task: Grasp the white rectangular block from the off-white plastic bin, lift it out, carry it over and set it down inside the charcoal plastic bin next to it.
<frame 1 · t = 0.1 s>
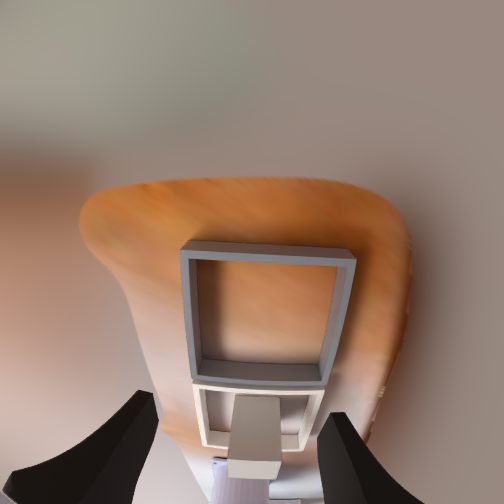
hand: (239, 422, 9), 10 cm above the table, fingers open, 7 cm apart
string lights box: (262, 502, 34), on the table
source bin: (256, 409, 23), on the table
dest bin: (264, 314, 19), on the table
white rectangular block: (256, 409, 23), resting in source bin
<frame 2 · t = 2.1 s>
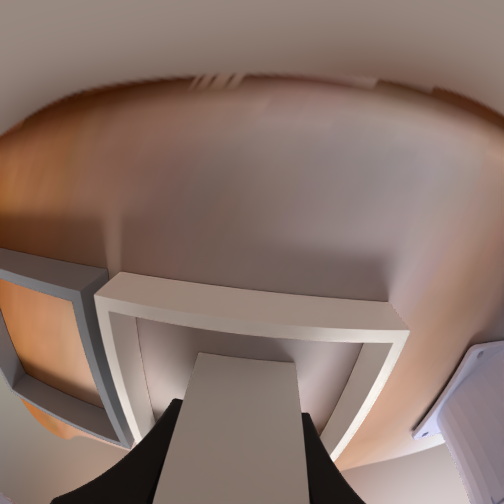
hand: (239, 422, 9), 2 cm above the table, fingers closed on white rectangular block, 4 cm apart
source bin: (242, 390, 11), on the table
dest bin: (48, 341, 11), on the table
white rectangular block: (242, 390, 11), resting in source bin, touching gripper
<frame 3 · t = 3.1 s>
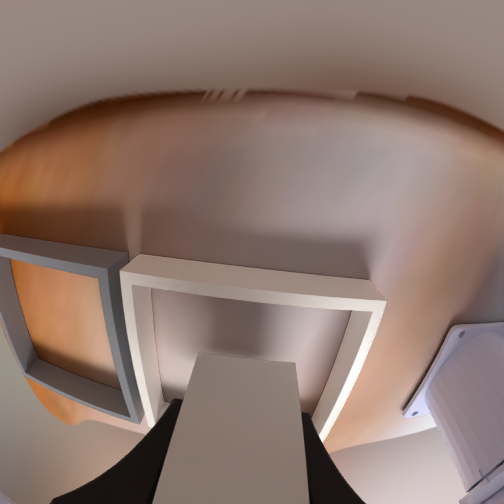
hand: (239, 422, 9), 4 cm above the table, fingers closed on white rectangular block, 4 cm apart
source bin: (244, 361, 13), on the table
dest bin: (65, 323, 13), on the table
white rectangular block: (242, 389, 11), point 2 cm above the table, touching gripper
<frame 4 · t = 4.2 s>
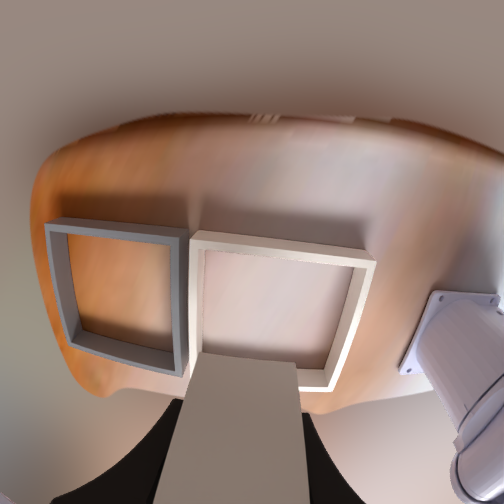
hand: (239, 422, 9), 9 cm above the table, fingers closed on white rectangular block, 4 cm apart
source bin: (273, 314, 18), on the table
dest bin: (120, 291, 18), on the table
white rectangular block: (243, 389, 11), point 7 cm above the table, touching gripper
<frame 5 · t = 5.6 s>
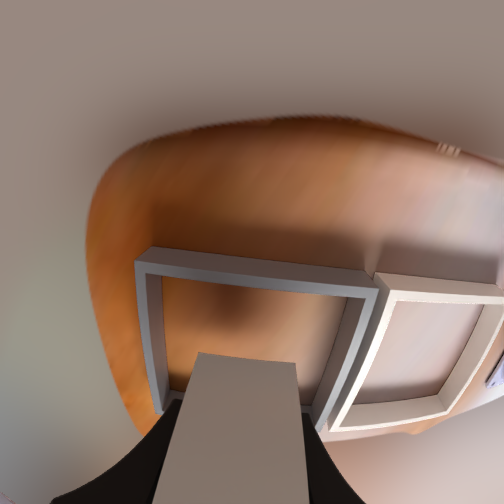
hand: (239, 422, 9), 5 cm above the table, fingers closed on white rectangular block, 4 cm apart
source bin: (418, 353, 14), on the table
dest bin: (247, 348, 14), on the table
white rectangular block: (242, 390, 11), point 3 cm above the table, touching gripper
when the fingers open (4 cm above the table, at t = 6.7 s): white rectangular block drops 2 cm, resting in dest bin.
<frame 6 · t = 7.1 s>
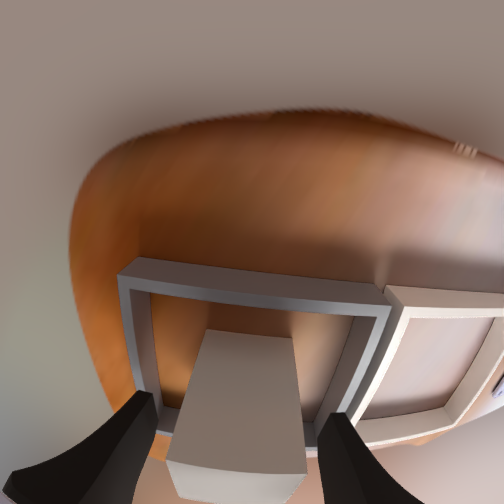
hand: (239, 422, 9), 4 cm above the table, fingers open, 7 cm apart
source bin: (427, 367, 13), on the table
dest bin: (245, 366, 13), on the table
white rectangular block: (245, 365, 13), resting in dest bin
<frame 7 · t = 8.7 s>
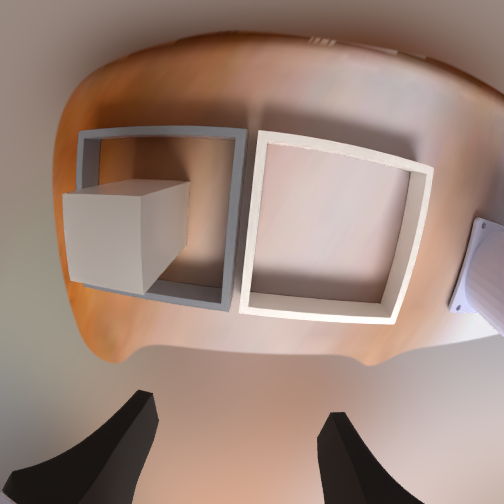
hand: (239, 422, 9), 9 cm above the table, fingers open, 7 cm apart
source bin: (333, 231, 16), on the table
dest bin: (158, 211, 16), on the table
white rectangular block: (158, 211, 16), resting in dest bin
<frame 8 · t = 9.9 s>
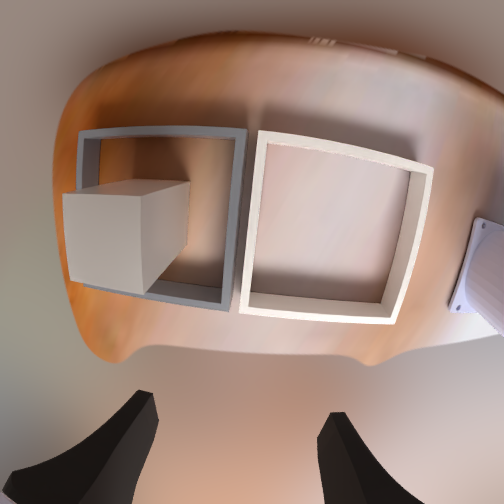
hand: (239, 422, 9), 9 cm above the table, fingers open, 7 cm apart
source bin: (333, 231, 16), on the table
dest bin: (158, 211, 16), on the table
white rectangular block: (158, 211, 16), resting in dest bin
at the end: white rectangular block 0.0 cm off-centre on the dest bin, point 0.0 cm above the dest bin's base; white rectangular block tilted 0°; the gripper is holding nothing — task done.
